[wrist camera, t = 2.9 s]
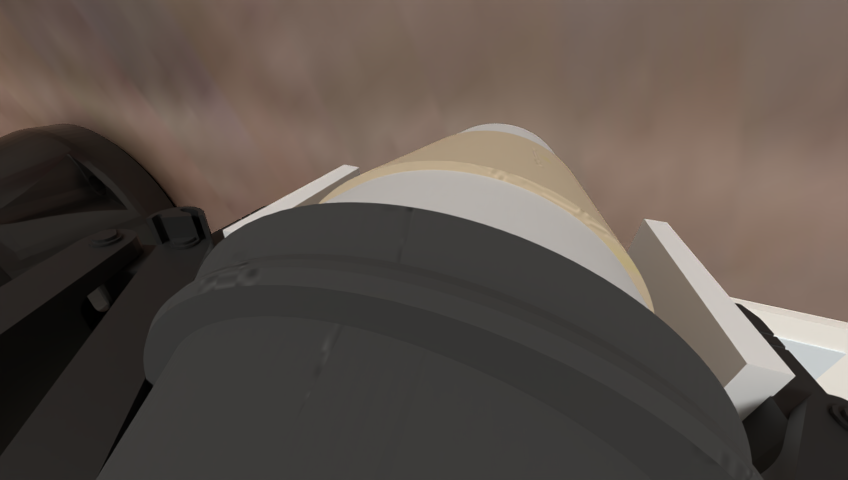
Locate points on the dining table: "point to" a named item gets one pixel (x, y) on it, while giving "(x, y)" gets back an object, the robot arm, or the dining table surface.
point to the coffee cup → (429, 340)
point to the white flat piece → (810, 343)
